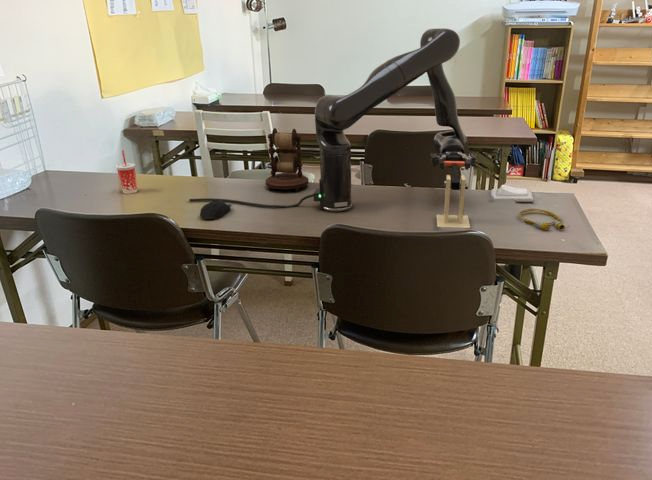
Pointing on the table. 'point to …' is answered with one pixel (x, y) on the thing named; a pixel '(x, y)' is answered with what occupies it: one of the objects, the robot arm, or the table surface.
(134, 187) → the beverage cup
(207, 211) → the gaming mouse
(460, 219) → the bracket
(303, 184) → the brown spool stand
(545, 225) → the extension cord
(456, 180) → the lever
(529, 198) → the light switch
